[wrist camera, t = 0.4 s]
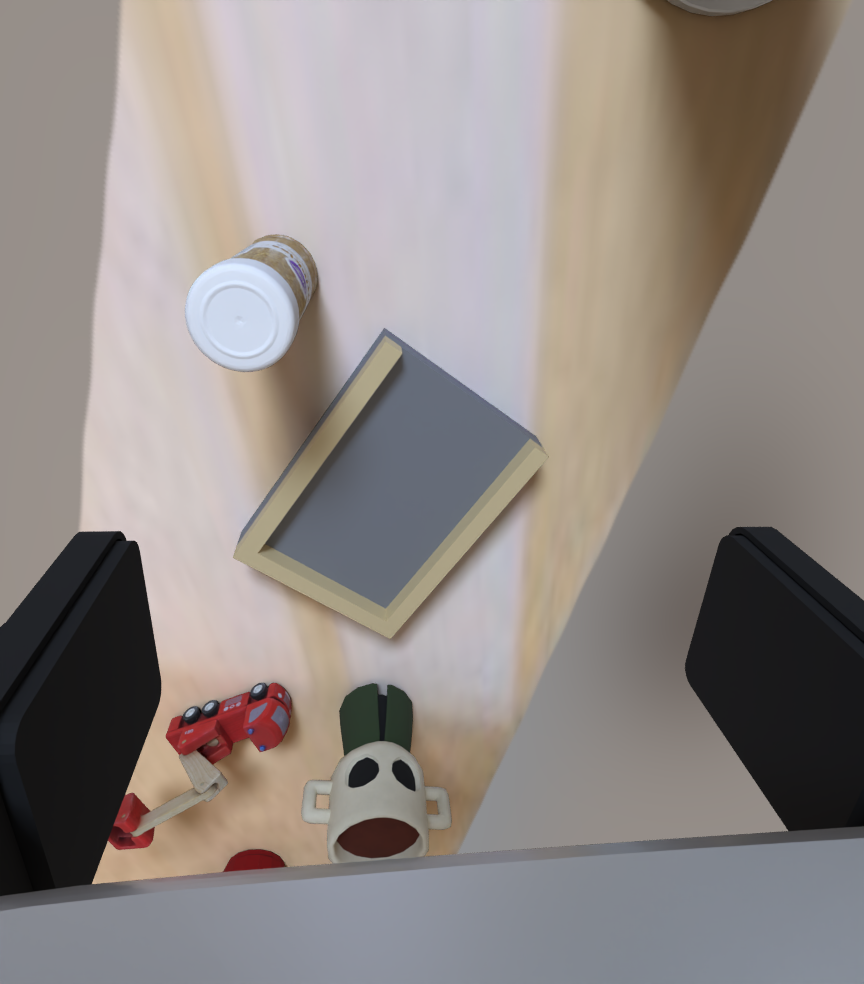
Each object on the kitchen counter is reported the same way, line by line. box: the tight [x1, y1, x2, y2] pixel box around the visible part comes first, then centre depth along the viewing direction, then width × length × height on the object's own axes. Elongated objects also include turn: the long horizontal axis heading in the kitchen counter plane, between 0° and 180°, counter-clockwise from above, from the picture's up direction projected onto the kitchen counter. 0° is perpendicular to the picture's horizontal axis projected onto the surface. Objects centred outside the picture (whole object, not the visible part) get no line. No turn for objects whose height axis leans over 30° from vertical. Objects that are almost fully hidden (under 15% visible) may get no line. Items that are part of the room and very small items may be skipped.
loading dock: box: [233, 328, 549, 639], centre depth 44 cm, size 18×13×4 cm
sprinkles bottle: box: [185, 235, 317, 372], centre depth 32 cm, size 5×5×13 cm
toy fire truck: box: [108, 683, 291, 850], centre depth 50 cm, size 3×14×10 cm, turn 110°
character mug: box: [301, 683, 452, 864], centre depth 49 cm, size 11×7×13 cm, turn 79°
